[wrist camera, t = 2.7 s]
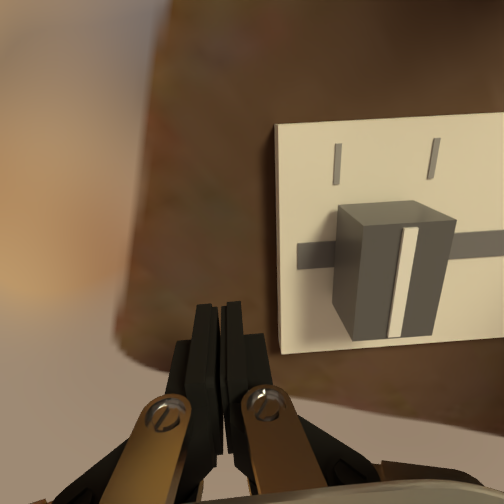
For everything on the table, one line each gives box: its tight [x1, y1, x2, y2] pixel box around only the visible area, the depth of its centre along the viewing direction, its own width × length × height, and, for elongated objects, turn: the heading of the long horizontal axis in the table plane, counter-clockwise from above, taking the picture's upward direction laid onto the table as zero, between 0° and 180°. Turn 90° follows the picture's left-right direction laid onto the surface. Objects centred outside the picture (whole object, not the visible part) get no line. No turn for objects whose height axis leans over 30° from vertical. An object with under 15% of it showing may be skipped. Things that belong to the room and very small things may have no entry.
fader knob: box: [332, 200, 457, 342], centre depth 16 cm, size 4×6×4 cm, turn 3°
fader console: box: [274, 112, 504, 354], centre depth 19 cm, size 26×14×2 cm, turn 93°
